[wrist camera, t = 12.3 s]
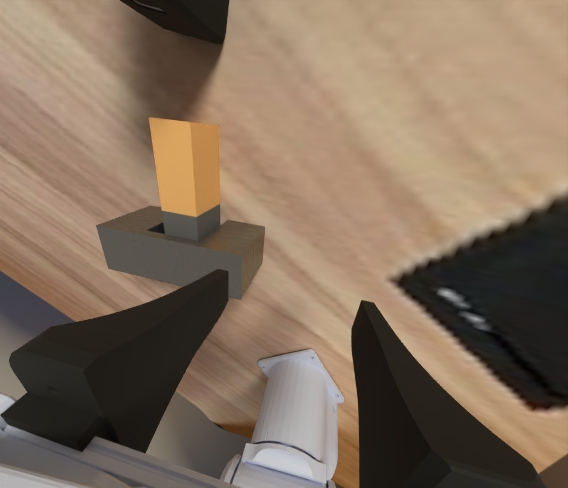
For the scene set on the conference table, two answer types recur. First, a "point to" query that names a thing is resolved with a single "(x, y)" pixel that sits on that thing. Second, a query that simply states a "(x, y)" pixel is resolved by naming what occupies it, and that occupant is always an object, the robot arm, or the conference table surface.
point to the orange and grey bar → (187, 176)
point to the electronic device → (187, 16)
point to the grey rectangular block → (181, 250)
